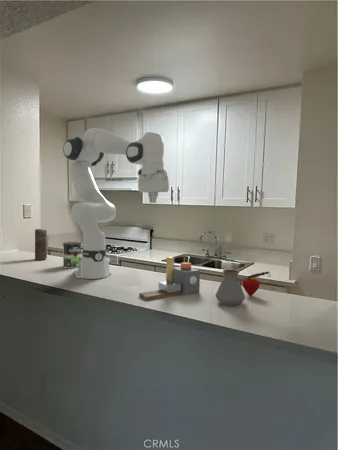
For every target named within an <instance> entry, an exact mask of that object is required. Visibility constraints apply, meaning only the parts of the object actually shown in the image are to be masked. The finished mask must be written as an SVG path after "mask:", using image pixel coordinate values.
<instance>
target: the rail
mask: <svg viewBox="0 0 338 450" xmlns="http://www.w3.org/2000/svg"><path fill="white" fill-rule="evenodd" d="M138 295H139V296H138V297H139V298H141V299H142V300H144V301H146V300H147V301H152V300H156V299H163V298H167V297H174V296H179V295H183V294H182V291H176V292H170V293H166V292H164V291H162V290H160V289H156V290H151V291H150V290H148V291H144V292H139V293H138Z"/></svg>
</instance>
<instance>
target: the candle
mask: <svg viewBox="0 0 338 450" xmlns="http://www.w3.org/2000/svg"><path fill="white" fill-rule="evenodd" d="M47 231H48V230H46V229H41V228H40V229H39V228H36V229H34V261H40V260H41V261H42V260H43V261H44V260H46V259H47V258H48V247H47V245H48V240H47V239H48V236H47V235H48V233H47Z"/></svg>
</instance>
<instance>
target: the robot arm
mask: <svg viewBox="0 0 338 450" xmlns="http://www.w3.org/2000/svg"><path fill="white" fill-rule="evenodd" d="M164 144H165V143H164V138H163V136H162V135H161V134H158V133H154V132H150V131H149V132H145V133H144V134H143V136H142V137H141V138H139V139H138V140H136V141H134V142H133V141H132V142H131V141H129V140H127V139H126V138H123V137H121V136H119V135H117V134H116V133H113V132H112V131H110V130H107V129H103V128H99V127H90V128H88V129H87V130H86V131H85V132H84V135H83V137H82V138H80V137H79V136H76V137H74V138H70V139H67V140H66V141H65V142H64V143H63V147H62V150H63V151H62V153H63V154H64V157H65V158H67V159H69V160H70V161H72V162H71V163H70V165H69V172H70V174H69V175H70V178H71V182H72V184H73V187H74V191H75V192H76V193H75V194H76V195H77V197H78V198H79V199H81V200H83V201H79V202H77V203H74V204H73V205H72V207H71V211H70V212H71V213H70V215H71V218H72V220H73V221H75V222H76V224H77V225H78V226H79V228H80V229H81V233H82V239H83V249H82V251H81V259H80V261H79V262H78V264H76V268H75V270H73V274H74V275H75V278H76V279H84V280H85V279H88V280H97V279H103V278H106V277H109V276H110V275H112V272H111V271H110V265H109V258H107V257H106V256H107V249H106V234H105V232H104V231H102V230H101V229H100V228H99V224H98V223H100V224H101V223H108V222H110V221H113V220H114V219H116V218H115V217H116V215H117V209H116V205H114V203H112V202H110V201H109V200H107V199H106V198H105V196H104V195H103V193H101V192H100V189H99V188H98V186H97V183H96V181H95V178H94V175H93V173H92V170H91V167H95V166H97V164H98V163H100V162H101V161H102V160H103V158H104V156H105V155H104V154H108V155H109V154H110V155H124V156H126V160H127V161H128V162H129V163H131V164H135V165H139V166H142V167H140V169H138V170H137V176H138V179H137V189H138V192H139V193H147V197H148V199H149V204H150V203H151V204H156V203H157V198H158V196H159V193H168V191H169V190H170V187H169V186H170V185H169V181H170V180H169V177H168V172H167V171H166V169H164V160H163V159H164V155H165V154H164V151H165V150H164V148H165V146H164Z"/></svg>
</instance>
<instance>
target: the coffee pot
mask: <svg viewBox="0 0 338 450" xmlns="http://www.w3.org/2000/svg"><path fill="white" fill-rule="evenodd" d="M222 273H223V275H224V276H223V277H222V280H221V282H220V284H219V286H218V289H217V291H216V292H215V298H216V300H217V301H218V302H219V303H220V304H221V305H223V306H229V307H236V306H239V305H240V304H242V303H243V302H244V301H245V300H246V299H245V298H246V296H245V293H244V290H243V287H242V286H241V283H240V282H241V281H243V280H245V279H249V278H254V277H255V278H260V277H261V276H265V275H267V276H268V277H269V278H271V277H272V275H271V273H270V272H269V271H265V272H264V271H262V272H260V273H258V272H257V273H253V275H252V274H251V275H247V276H244V277H238V275H239V274H240V271H239V270H237V269H224V270H222Z"/></svg>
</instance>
